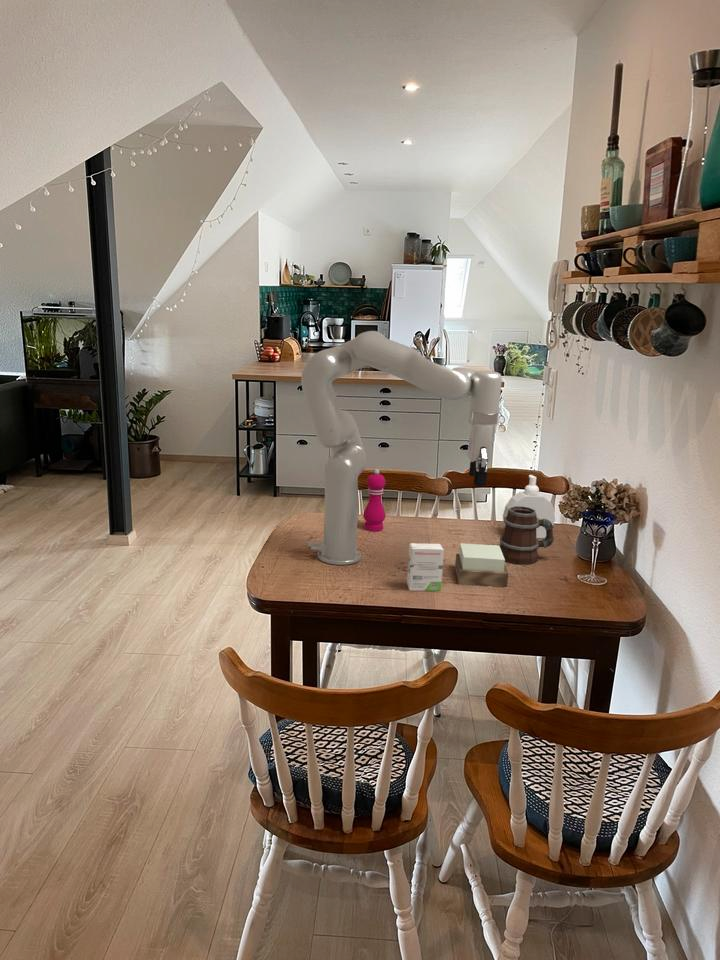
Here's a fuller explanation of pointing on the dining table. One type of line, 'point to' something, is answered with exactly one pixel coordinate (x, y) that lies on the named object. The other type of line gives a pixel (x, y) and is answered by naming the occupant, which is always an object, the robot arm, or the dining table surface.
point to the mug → (523, 535)
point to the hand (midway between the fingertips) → (477, 480)
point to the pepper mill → (374, 503)
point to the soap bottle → (533, 505)
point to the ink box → (425, 567)
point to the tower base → (480, 576)
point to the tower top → (481, 557)
